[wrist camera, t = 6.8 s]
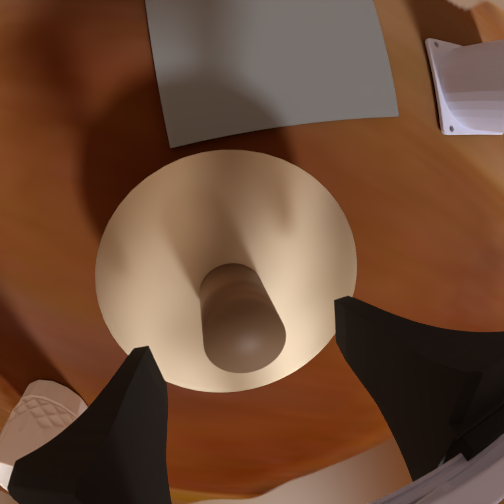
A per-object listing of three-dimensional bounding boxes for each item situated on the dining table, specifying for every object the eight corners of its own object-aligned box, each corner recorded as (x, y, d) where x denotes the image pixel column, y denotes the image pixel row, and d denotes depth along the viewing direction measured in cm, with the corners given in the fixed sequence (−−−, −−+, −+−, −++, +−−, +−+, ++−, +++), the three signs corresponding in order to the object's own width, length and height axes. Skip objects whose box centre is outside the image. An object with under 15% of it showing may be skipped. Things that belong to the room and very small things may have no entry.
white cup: (11, 394, 20) (-23, 470, 11) (43, 359, 19) (-1, 451, 10) (73, 440, 23) (56, 518, 14) (114, 414, 22) (100, 509, 13)
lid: (337, 131, 14) (397, 130, 9) (351, 350, 18) (387, 399, 14) (67, 188, 12) (16, 210, 8) (149, 398, 17) (144, 460, 12)
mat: (347, -55, 13) (350, -58, 12) (394, 116, 18) (398, 116, 18) (140, -49, 11) (139, -53, 11) (171, 148, 17) (170, 148, 16)
